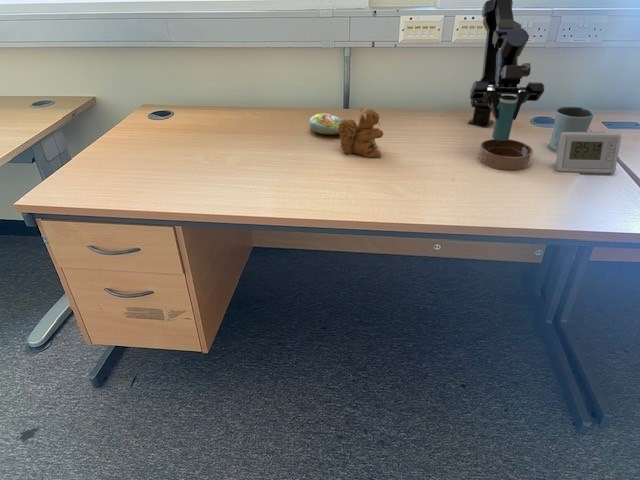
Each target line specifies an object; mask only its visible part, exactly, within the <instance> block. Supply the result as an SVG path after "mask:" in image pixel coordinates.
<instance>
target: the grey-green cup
mask: <svg viewBox="0 0 640 480" xmlns="http://www.w3.org/2000/svg"><path fill="white" fill-rule="evenodd" d="M594 116H595V112H594V111H593V110H591V109H589V108H585V107H583V106H576V105H575V106H573V105H566V106H560V107H558V108H556V110H555V114H554V121H553V126H552V128H553V129H552V133H551V137H550V142H549V147H550V148H551V149H552V150H554V151H556V152H557V150H558V143H559V137H560V134H561V133H563V132H589V131H588V130H589V129H590V128H589V127H590V125H591V124H592V120H593V118H594Z"/></svg>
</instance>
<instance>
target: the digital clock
mask: <svg viewBox="0 0 640 480" xmlns="http://www.w3.org/2000/svg"><path fill="white" fill-rule="evenodd" d="M621 140H622V134H621V133H619V132H605V131H587V132H563V133H561V134H560V137H559V143H558V150H557V151H556V159H555V164H554V170H555V172H560V173H562V172H563V173H579V174H581V175H582V174H584V175H601V174H614V173H615V172H616V169H617V163H618V158H619V151H620V145H621Z"/></svg>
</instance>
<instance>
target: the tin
mask: <svg viewBox="0 0 640 480" xmlns="http://www.w3.org/2000/svg"><path fill="white" fill-rule="evenodd" d="M517 102H518V98H517V96H515V95H511V94H502V96H500V98H499V104H498V118H497V120H496V119H494V124H493V130H492V134H491V135H492V136H491V137H492V138H491V139H495V140H499V141H506V140H508V139H510V135H511V131H512V126H513V122H514V120H513V118H514V114H515V109H516V105H517Z"/></svg>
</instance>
